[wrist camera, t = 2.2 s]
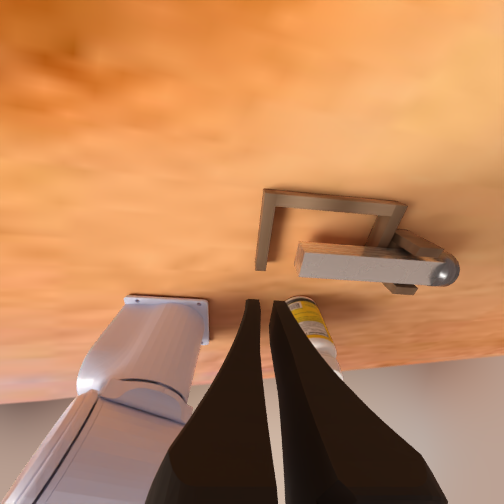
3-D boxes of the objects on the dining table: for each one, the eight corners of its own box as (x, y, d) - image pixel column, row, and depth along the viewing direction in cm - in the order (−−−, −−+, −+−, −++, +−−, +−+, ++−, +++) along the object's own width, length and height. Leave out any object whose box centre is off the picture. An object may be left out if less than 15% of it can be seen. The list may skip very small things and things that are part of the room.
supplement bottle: (308, 324, 25) (332, 398, 18) (274, 319, 24) (284, 393, 17) (323, 298, 23) (358, 370, 15) (286, 291, 22) (304, 363, 15)
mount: (255, 261, 20) (256, 286, 17) (263, 188, 16) (267, 200, 13) (385, 270, 21) (413, 295, 17) (421, 203, 17) (464, 217, 14)
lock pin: (291, 264, 19) (299, 284, 16) (298, 234, 17) (308, 251, 14) (416, 272, 19) (445, 294, 17) (434, 245, 18) (468, 263, 15)
